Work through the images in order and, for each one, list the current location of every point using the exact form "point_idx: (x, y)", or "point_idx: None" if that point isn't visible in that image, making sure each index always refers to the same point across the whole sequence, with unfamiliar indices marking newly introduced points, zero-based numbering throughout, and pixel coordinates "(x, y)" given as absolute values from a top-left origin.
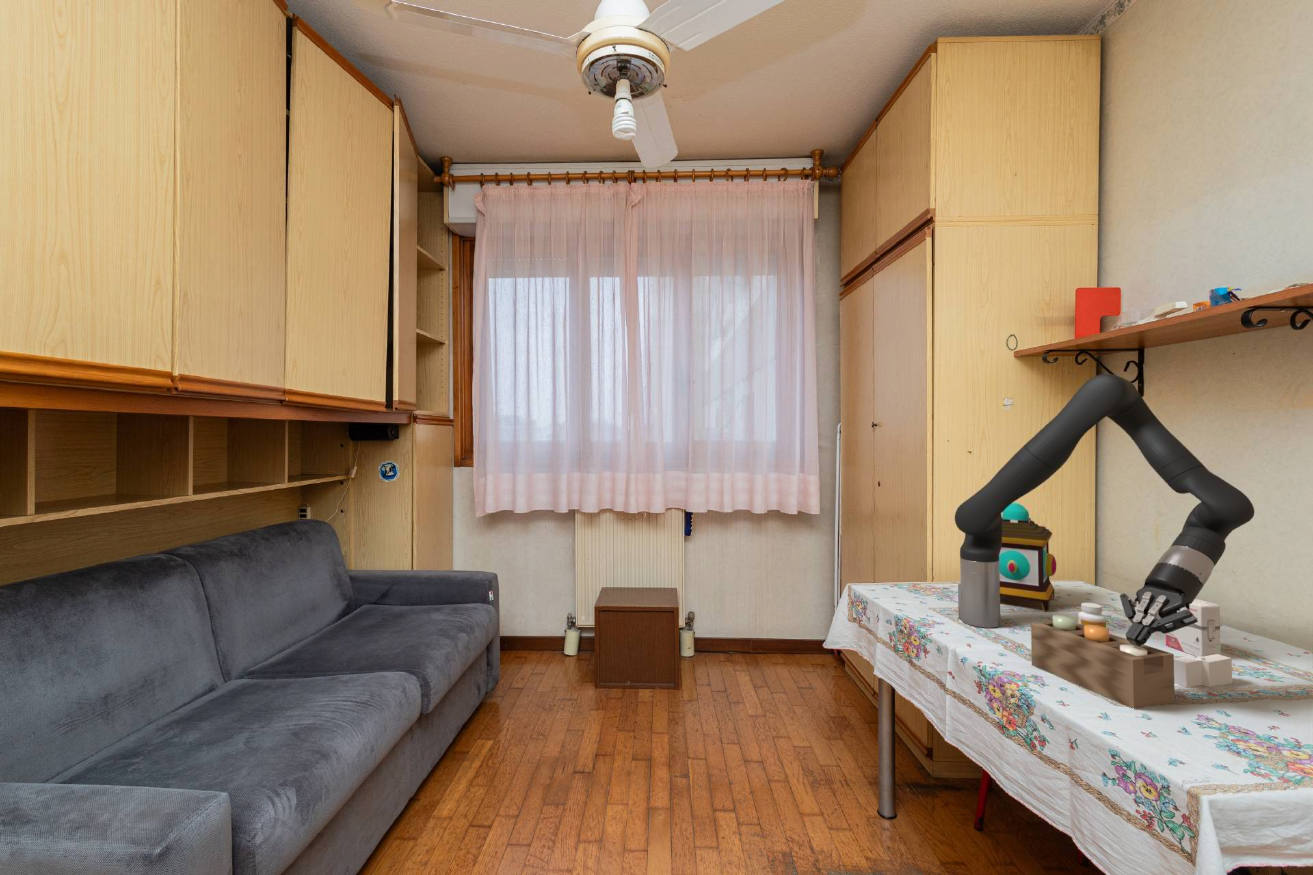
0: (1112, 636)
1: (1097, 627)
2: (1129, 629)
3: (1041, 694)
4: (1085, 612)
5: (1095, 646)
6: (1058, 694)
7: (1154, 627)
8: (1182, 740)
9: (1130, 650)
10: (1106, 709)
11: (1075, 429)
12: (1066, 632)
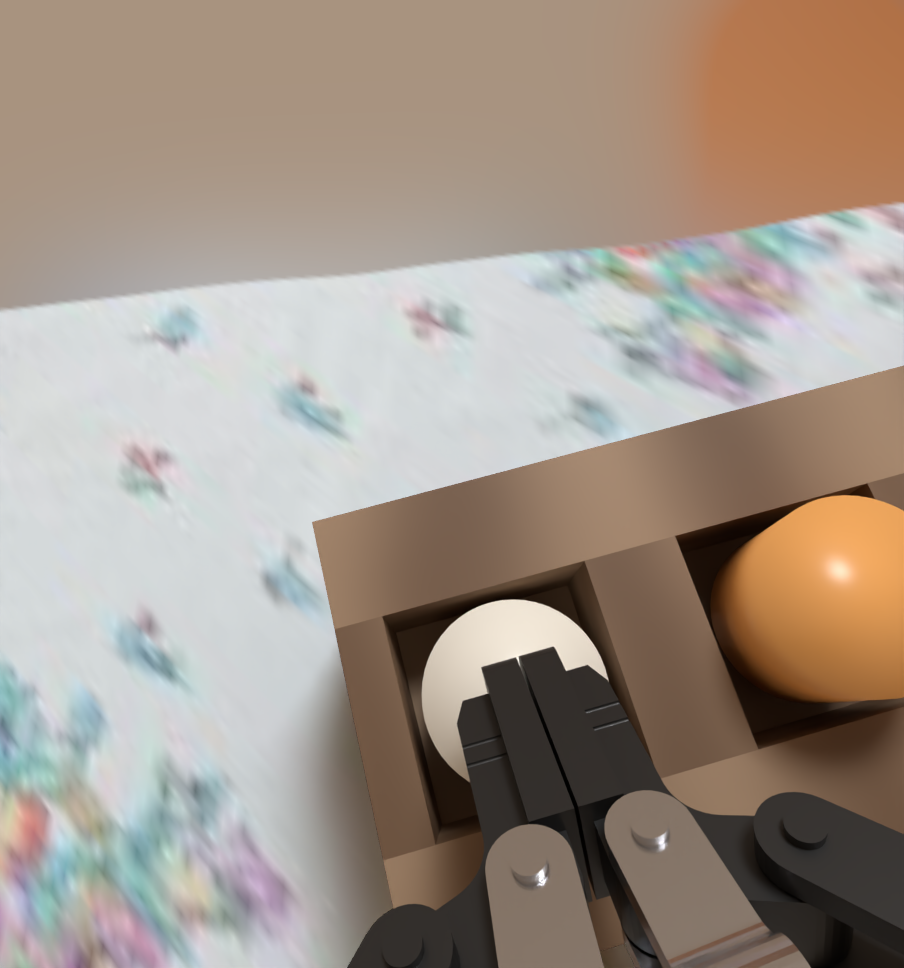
0: (885, 792)
1: (882, 613)
2: (621, 724)
3: (524, 288)
4: None
5: (592, 454)
6: (526, 357)
7: (454, 910)
8: (79, 567)
9: (466, 628)
10: (370, 462)
11: None
12: None
